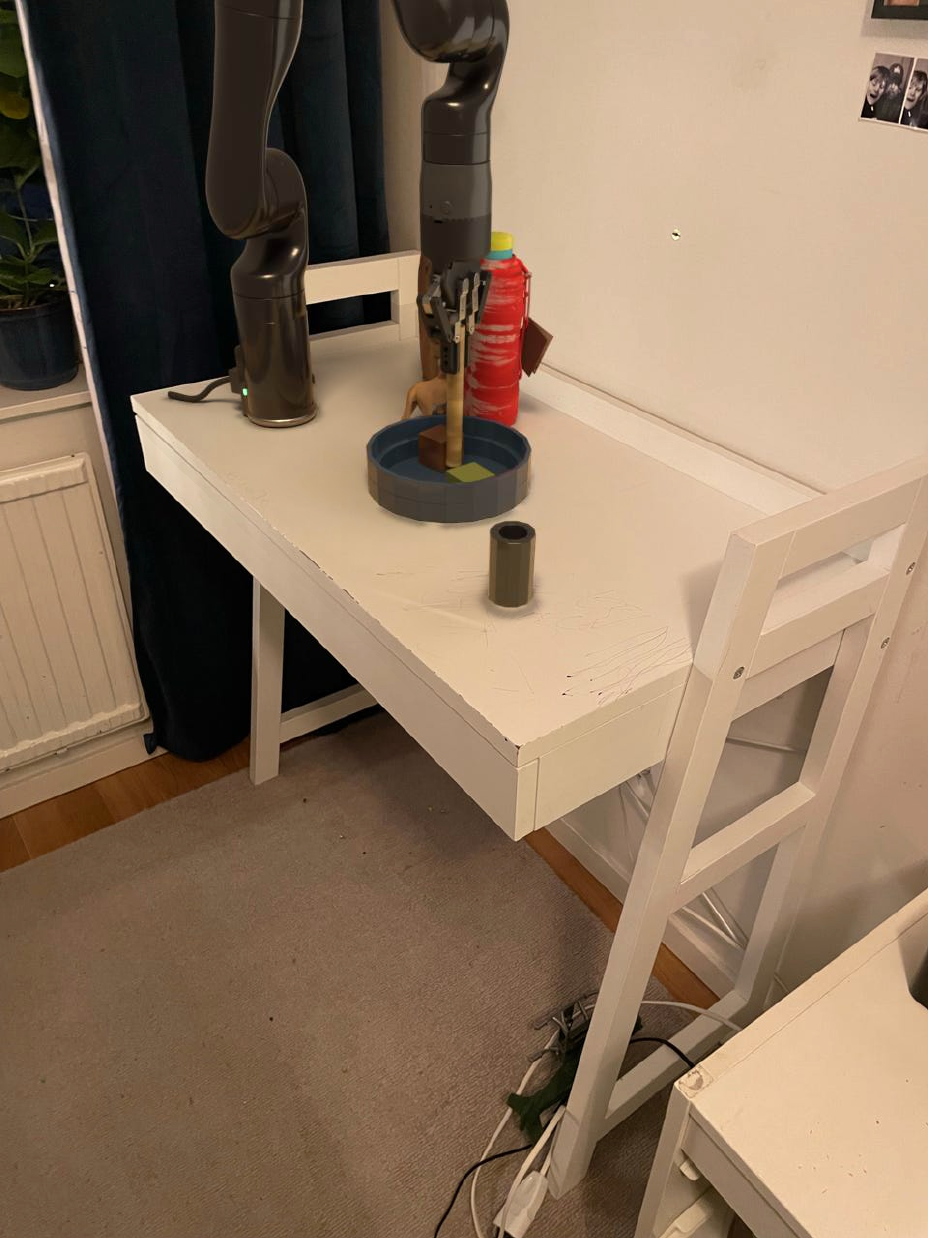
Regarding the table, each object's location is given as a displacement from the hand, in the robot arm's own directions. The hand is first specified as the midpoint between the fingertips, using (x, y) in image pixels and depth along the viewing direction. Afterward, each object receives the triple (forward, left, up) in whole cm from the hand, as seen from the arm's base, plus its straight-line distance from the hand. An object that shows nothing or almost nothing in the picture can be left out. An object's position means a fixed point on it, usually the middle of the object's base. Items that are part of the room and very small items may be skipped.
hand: (455, 368), depth 107 cm
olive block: (+5, -6, -13) cm, 15 cm away
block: (-15, +25, -14) cm, 33 cm away
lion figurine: (-10, +13, -14) cm, 21 cm away
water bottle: (-2, +17, -14) cm, 22 cm away
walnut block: (-3, +2, -13) cm, 14 cm away
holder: (+18, -21, -14) cm, 31 cm away
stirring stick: (0, 0, -12) cm, 12 cm away
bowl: (+1, -3, -14) cm, 14 cm away
